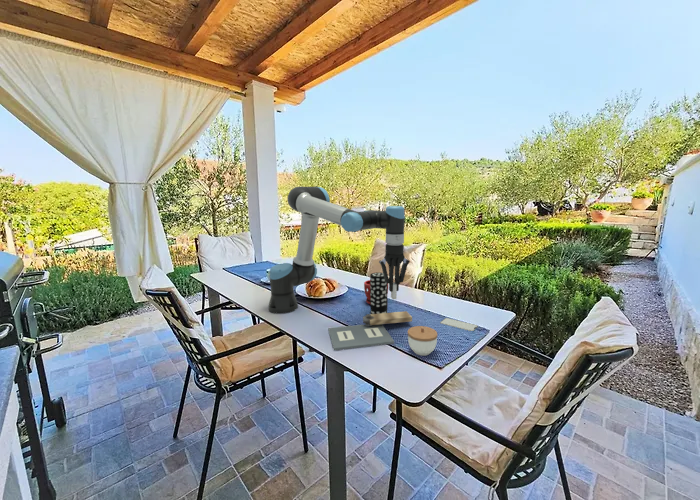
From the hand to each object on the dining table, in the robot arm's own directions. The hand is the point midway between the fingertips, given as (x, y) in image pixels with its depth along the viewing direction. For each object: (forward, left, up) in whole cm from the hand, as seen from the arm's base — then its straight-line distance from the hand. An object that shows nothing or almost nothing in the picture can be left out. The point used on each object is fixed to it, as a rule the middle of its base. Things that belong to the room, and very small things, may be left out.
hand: (393, 298), depth 126 cm
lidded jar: (+20, +4, -15) cm, 25 cm away
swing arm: (-5, -2, -12) cm, 13 cm away
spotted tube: (-19, -1, -15) cm, 24 cm away
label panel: (+3, -16, -14) cm, 22 cm away
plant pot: (-34, +2, -15) cm, 37 cm away
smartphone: (+2, +30, -15) cm, 34 cm away
